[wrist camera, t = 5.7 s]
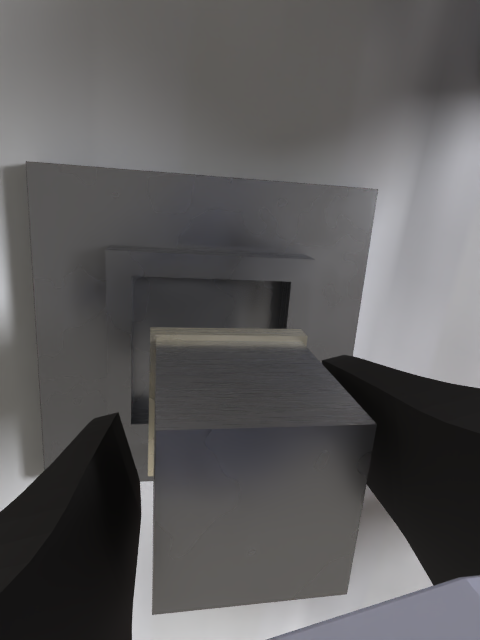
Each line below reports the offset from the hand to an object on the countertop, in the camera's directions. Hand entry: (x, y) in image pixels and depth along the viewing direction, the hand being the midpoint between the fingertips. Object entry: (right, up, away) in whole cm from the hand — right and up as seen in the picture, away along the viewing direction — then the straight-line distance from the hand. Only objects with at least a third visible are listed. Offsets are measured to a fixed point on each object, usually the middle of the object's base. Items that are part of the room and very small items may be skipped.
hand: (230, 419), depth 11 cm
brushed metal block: (0, 0, +1) cm, 2 cm away
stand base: (-1, +2, +6) cm, 7 cm away
